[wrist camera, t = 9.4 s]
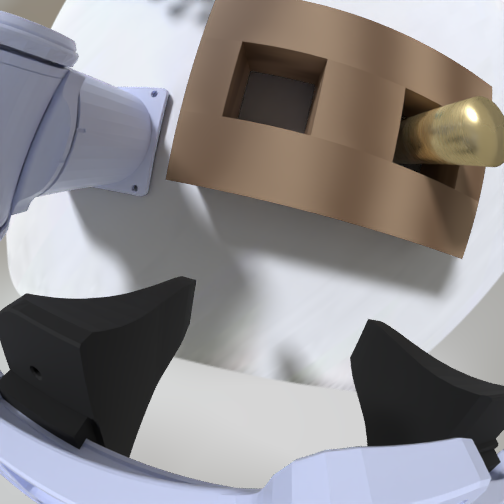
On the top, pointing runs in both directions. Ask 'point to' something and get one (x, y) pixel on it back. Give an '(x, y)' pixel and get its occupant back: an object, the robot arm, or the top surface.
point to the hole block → (326, 120)
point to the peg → (453, 135)
